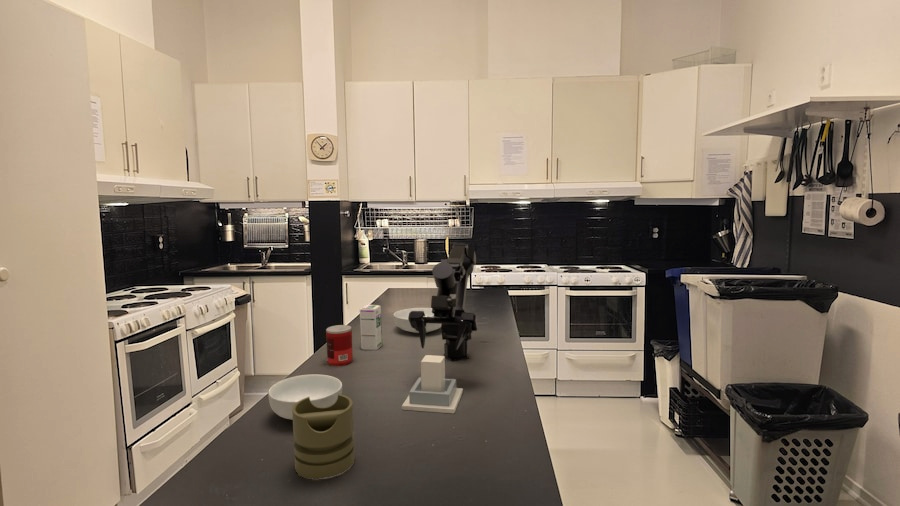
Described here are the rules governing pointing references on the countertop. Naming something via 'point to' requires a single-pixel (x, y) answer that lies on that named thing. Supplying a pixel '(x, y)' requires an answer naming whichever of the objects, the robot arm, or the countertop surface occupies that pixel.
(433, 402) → the socket
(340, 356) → the canned food
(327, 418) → the piston
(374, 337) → the syrup box
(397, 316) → the serving bowl
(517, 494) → the countertop surface
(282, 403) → the cereal bowl
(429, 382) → the plug
